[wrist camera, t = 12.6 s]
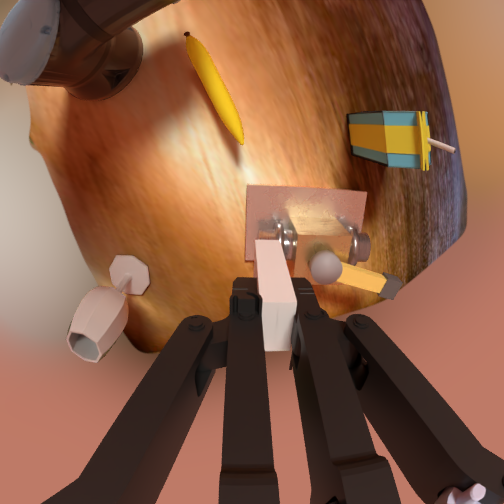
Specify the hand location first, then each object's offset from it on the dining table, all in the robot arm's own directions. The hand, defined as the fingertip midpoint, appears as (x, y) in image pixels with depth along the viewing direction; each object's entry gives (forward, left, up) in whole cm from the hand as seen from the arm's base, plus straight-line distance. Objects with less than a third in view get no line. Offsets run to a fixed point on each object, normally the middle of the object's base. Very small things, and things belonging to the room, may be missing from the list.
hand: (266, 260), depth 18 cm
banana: (-6, +14, -30) cm, 33 cm away
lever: (+15, -12, -19) cm, 27 cm away
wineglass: (-23, -18, -30) cm, 42 cm away
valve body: (+9, -7, -29) cm, 32 cm away
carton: (+19, +9, -30) cm, 36 cm away
